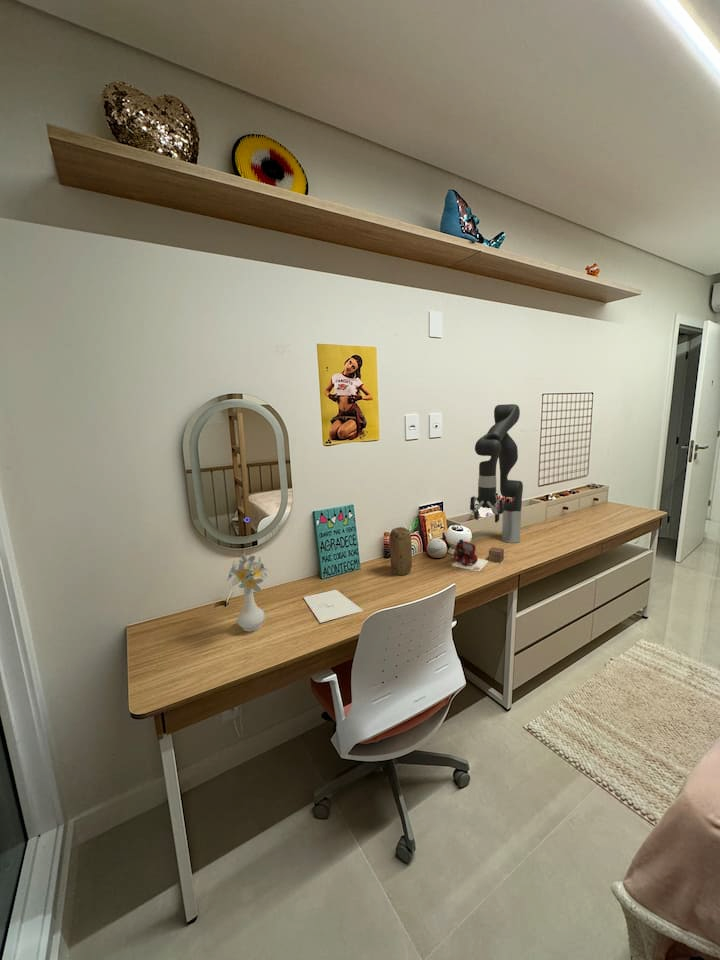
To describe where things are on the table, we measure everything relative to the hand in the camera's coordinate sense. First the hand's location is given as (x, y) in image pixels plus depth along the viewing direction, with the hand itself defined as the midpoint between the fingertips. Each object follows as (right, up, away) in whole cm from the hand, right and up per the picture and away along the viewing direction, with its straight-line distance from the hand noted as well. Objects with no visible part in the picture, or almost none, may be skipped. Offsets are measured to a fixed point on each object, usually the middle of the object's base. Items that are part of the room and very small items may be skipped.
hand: (486, 520), depth 165 cm
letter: (-4, -21, +9) cm, 24 cm away
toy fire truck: (-6, -21, +11) cm, 24 cm away
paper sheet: (-62, -30, -20) cm, 72 cm away
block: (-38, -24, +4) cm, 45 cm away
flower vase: (-93, -33, -36) cm, 105 cm away
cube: (+9, -20, +12) cm, 25 cm away
